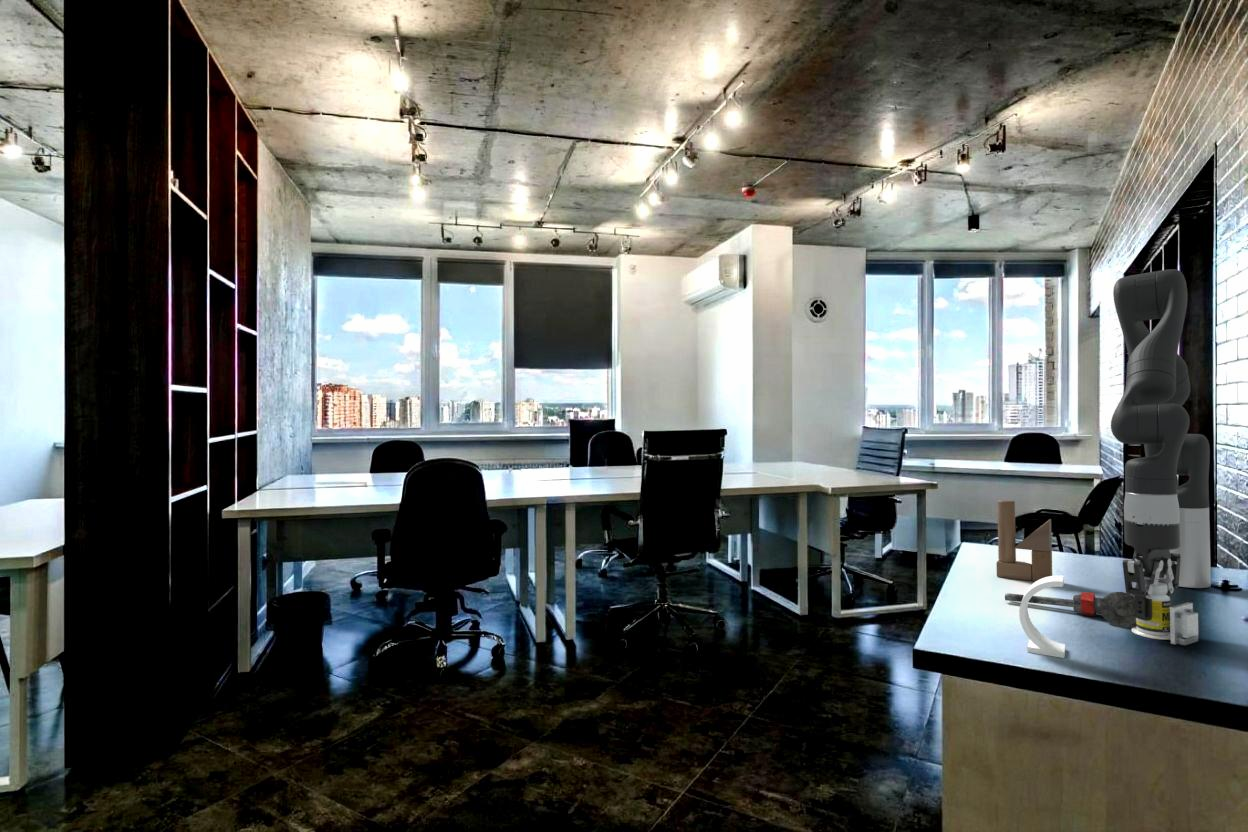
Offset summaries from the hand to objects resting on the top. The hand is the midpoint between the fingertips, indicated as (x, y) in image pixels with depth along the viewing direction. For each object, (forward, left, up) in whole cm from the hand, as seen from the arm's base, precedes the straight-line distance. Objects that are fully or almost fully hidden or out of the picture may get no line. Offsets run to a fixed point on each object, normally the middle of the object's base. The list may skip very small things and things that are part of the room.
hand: (1153, 616), depth 114 cm
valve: (-4, -13, -4) cm, 15 cm away
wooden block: (-19, -34, -3) cm, 40 cm away
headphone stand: (+24, -4, -3) cm, 25 cm away
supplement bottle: (0, 0, -3) cm, 3 cm away
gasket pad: (0, 0, -3) cm, 3 cm away
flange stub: (0, +4, -3) cm, 5 cm away
